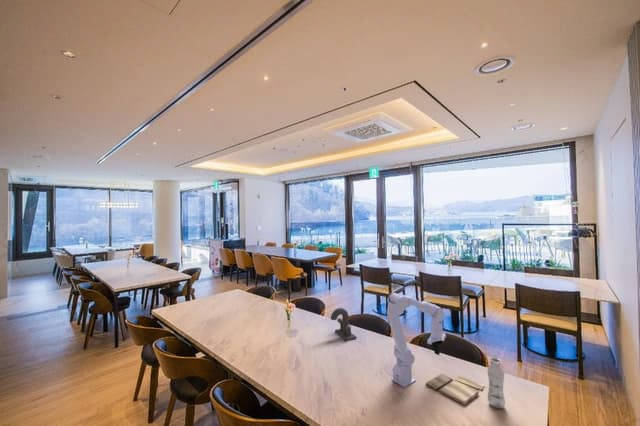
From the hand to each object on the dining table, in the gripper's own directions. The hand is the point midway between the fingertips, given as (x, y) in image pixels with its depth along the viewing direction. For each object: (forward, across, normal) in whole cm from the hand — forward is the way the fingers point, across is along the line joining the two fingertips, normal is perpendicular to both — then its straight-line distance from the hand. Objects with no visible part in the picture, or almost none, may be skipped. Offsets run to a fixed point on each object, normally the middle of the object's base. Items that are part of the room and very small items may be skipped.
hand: (437, 353), depth 147 cm
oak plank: (+10, -8, -16) cm, 20 cm away
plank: (+10, +4, -15) cm, 19 cm away
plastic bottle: (+10, -3, -30) cm, 32 cm away
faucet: (+10, -13, +66) cm, 68 cm away
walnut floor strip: (+10, -8, -6) cm, 14 cm away
